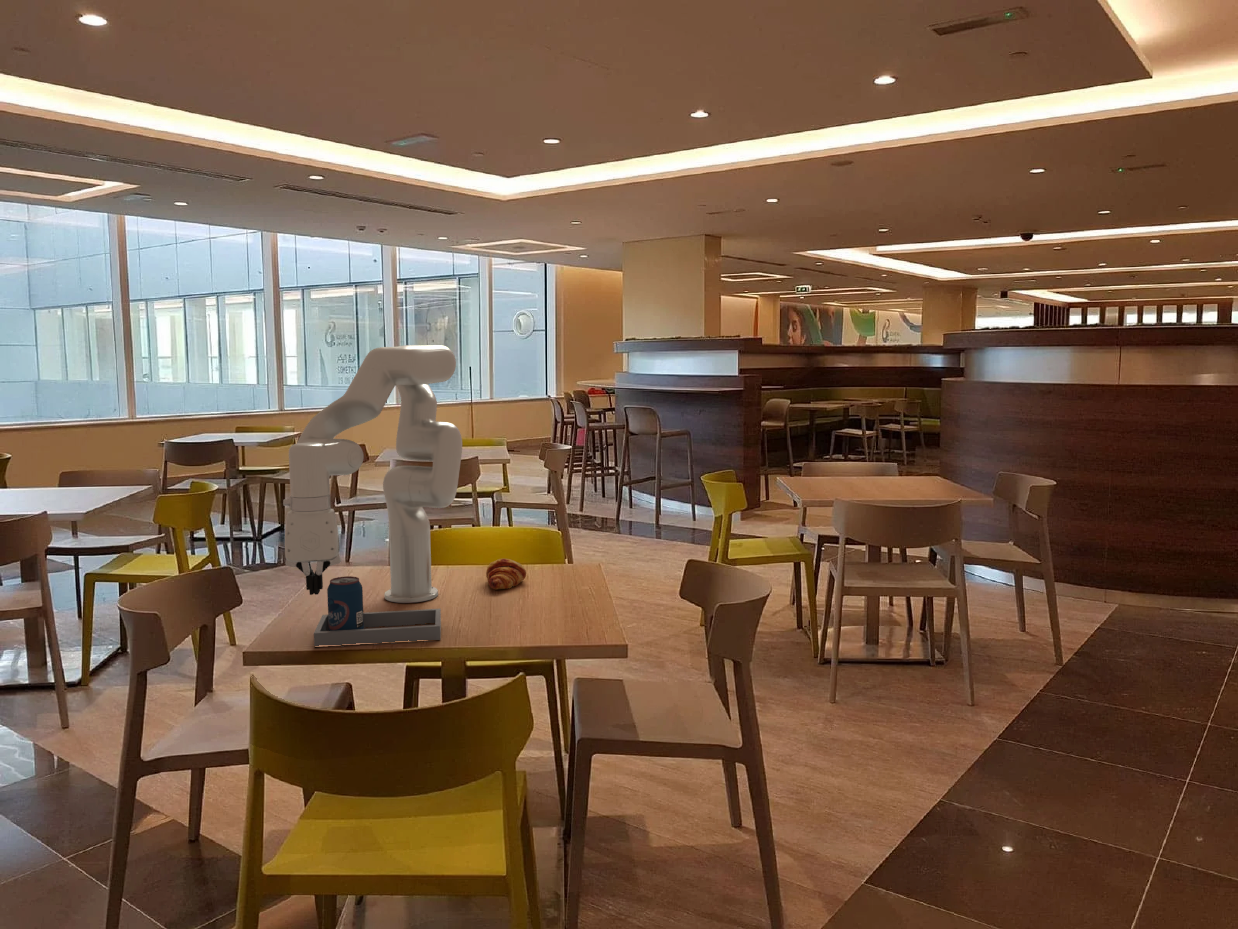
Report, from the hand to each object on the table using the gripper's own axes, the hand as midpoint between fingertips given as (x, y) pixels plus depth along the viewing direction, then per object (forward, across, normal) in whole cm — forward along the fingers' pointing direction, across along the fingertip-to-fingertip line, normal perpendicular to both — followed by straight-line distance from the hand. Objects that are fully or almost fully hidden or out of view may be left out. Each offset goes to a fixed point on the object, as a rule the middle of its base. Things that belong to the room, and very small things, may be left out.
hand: (314, 592), depth 182 cm
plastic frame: (+10, +13, 0) cm, 16 cm away
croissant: (+10, +41, +38) cm, 57 cm away
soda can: (+10, +6, 0) cm, 11 cm away
